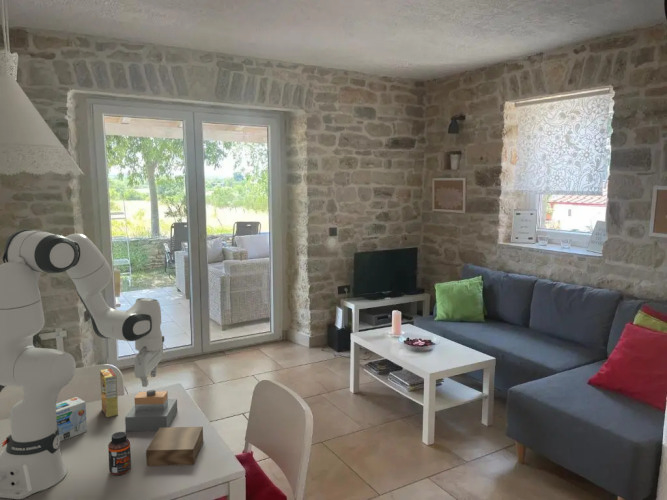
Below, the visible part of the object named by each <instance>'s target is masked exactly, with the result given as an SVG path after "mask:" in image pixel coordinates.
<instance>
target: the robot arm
mask: <svg viewBox="0 0 667 500" xmlns="http://www.w3.org/2000/svg"><path fill="white" fill-rule="evenodd" d="M2 262H3V263H1V264H0V386H3V387H14V388H22V389H23V398H22V399H21V400H19V401H18V402H17V403H15V404H14V405H13V407H12V408H11V409H10V412H9V424H10V431H11V432H10V434H9V435H8V436H7V437H6V439H5V440H3V442H2V443H1V447H2V448H3V447H5V446H6V447H5V448H4V449H3V450H2V451H1V452H0V498H3V499H12V500H13V499H14V500H22V499H25V498H27V497H29V496H31V495H33V494H35V493H38V492H41V491H44V490H47V489H49V488H51V487H53V486H56V485H57V484H59V482H61V481H62V480H63V479H64V478H65V476H66V475H67V472H68V470H67V468H66V465H65V463H64V461H63V457H62V454H61V450H60V446H61V441H60V437H59V428H58V426H57V421H56V404H57V403H58V402H57V401H58V397H59V394H60V393H61V391H62V389H63V388H65V387H66V386H67V385H69V384H70V382H71V381H72V380H73V378H74V376H75V374H76V369H77V363H76V360H75V357H74V356H73V355H72V354H71V353H69V352H67V351H64V350H60V349H56V348H47V347H46V348H45V347H44V348H43V347H36V346H34V341H33V340H34V336H35V335H37V334H38V333H40V332H41V331H42V330H43V328H44V327H45V323H46V320H45V319H46V318H45V314H44V313H45V312H44V308H43V302H42V297H41V292H40V288H39V285H40V277H41V275H42V273H48V274H60V273H64V272H66V274H67V275H68V276H69V279H71V281H72V282H73V284H74V289H75V292H76V294H77V296H78V298H79V300H80V301H81V303H82V305H83V306H84V308H85V310H86V312H87V314H88V315H89V318H90V320H91V325H92V329H93V332H94V333H95V334H96V336H97V337H99V338H101V339H113V340H117V341H125V342H134V348H135V350H136V351H138V353H137V354H136V356H135V359H134V377H135V378H136V379H138V378H139V379H140V381H141V386H142V387H144V388H145V387H148V386H149V379H148V377H149V375H150V378H155V377H156V376H157V375H158V372H157V371H158V368H159V366H158V364H159V363H160V362H161V361H162V359H163V355H164V342H165V335H162V334H163V332H162V329H161V325H162V310H161V305H160V302H159V301H158V299H155V298H150V297H149V298H146V297H141V298H137V299H135V302H134V304H133V305H132V306H131V307H130V308H128V309H127V310H119V309H115V308H112V307H110V306H109V305H108V304H107V302H106V299H105V298H104V296H103V294H102V291H103V290H104V289H105V288H106V287H108V285H110V282H111V280H112V278H113V271H112V269H111V265H110V264H109V262H108V261H107V259H106V258H105V256H104V254H103V253H102V252H101V250H100V249H99V248H98V247H97V245H96V244H95V243H93V241H92V240H91V239H90V238H88V236H87V235H85V234H83V233H78V232H77V233H71V234H68V235H66V236H64V235H60V234H54V233H52V232H51V233H50V232H48V231H44V230H32V229H23V230H19V231H16V232H13V234H11V235H9V237H8V238H7V240H6V243H5V245H4V253H3V255H2Z"/></svg>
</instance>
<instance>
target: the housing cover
mask: <svg viewBox="0 0 667 500" xmlns="http://www.w3.org/2000/svg"><path fill="white" fill-rule="evenodd" d="M168 396H169V395H168V391H165V390H163V391H161V390H160V391H156V390H154V389H150V390H148V391H139V392H138V393H137V394H136V395H135V396H134V405H135V404H164V403H165V401H166V400H167V398H168V399H169V397H168Z"/></svg>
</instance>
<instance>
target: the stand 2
mask: <svg viewBox="0 0 667 500" xmlns="http://www.w3.org/2000/svg"><path fill="white" fill-rule="evenodd" d="M156 431H157V432H156V433H155V435H154V437H153V438H152V440H151V441H150V443H149V444H148V446H147V448H146V449H145V457H146V461H145V462H146V467H154V466H155V467H158V466H159V467H160V466H161V467H162V466H187V465H188V466H191V465H193V466H194V465H195V463H196V460H197V457H198V455H199V452H200V450H201V447H202V444H204V443H203V442H204V427H203V426H179V427H178V426H174V427H173V426H172V427H170V426H169V427H165V428H159V430H156Z"/></svg>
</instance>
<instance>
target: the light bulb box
mask: <svg viewBox="0 0 667 500" xmlns="http://www.w3.org/2000/svg"><path fill="white" fill-rule="evenodd" d="M56 421H57V426H58V428H59V437H60V442H62V441H65V440H67V439H70V438H73V437H75V436H78V435H80V434H83V433H86V432H87V431H88V425H87V423H88V422H87V408H86V401H85V400H83V399H81V398H80V397H78V396H75V397H72V398H69V399H67V400H66V399H65V400H62V401H60V402H56Z"/></svg>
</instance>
